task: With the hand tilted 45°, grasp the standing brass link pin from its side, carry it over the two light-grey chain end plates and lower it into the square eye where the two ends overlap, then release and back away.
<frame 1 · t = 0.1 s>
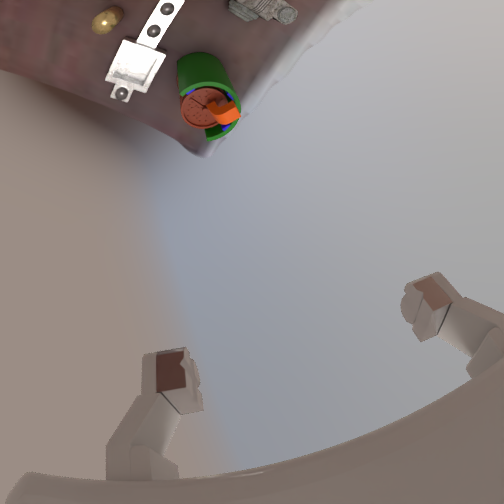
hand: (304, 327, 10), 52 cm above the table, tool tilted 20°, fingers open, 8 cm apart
link pin: (113, 15, 34), on the table
motor: (199, 74, 48), on the table
chain joint: (136, 62, 43), on the table
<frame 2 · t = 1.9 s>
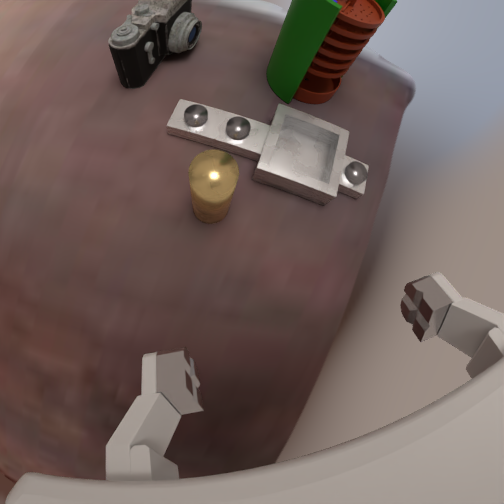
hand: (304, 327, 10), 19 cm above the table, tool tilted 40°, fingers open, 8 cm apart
camera: (167, 52, 31), on the table
link pin: (210, 206, 29), on the table
motor: (301, 78, 33), on the table
chain joint: (297, 159, 31), on the table
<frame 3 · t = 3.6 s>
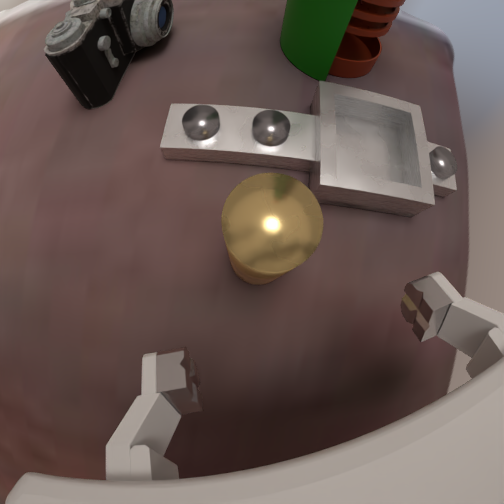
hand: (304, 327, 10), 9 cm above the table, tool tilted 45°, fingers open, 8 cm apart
camera: (136, 50, 22), on the table
link pin: (258, 256, 19), on the table
motor: (328, 47, 23), on the table
chain joint: (362, 158, 21), on the table
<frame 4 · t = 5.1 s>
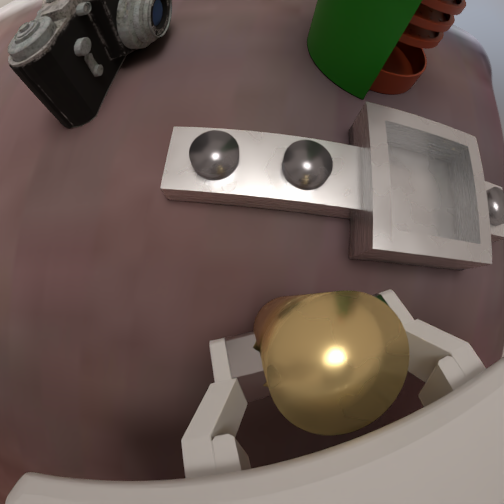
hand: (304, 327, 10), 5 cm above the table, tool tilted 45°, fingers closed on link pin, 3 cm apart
camera: (127, 53, 18), on the table
link pin: (287, 330, 15), on the table, touching gripper
motor: (363, 55, 19), on the table
chain joint: (409, 199, 16), on the table
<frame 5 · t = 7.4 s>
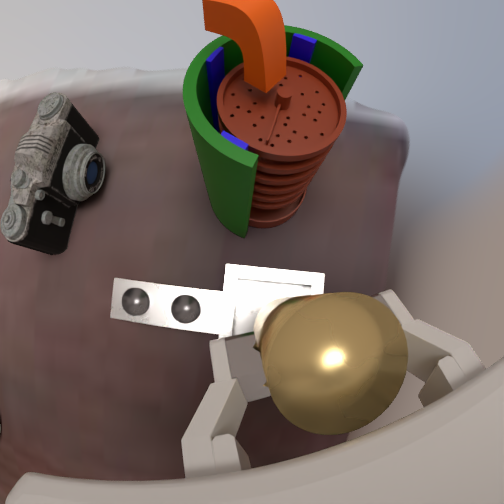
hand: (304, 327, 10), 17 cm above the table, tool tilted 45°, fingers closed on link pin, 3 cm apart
camera: (81, 190, 28), on the table
link pin: (287, 330, 15), point 12 cm above the table, touching gripper
motor: (256, 187, 29), on the table
chain joint: (268, 316, 27), on the table
when the fingers open (7 cm above the table, at t = 9.8 s): link pin drops 1 cm, resting on chain joint.
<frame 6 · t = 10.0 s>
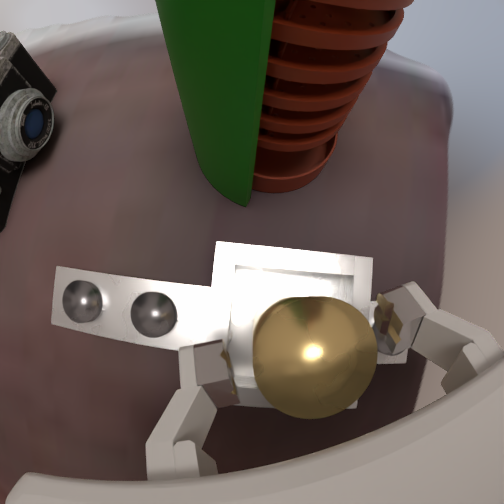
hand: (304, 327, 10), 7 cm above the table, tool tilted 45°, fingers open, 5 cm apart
camera: (29, 153, 19), on the table
link pin: (283, 328, 17), point 1 cm above the table, touching chain joint
motor: (263, 137, 19), on the table
chain joint: (282, 326, 17), on the table
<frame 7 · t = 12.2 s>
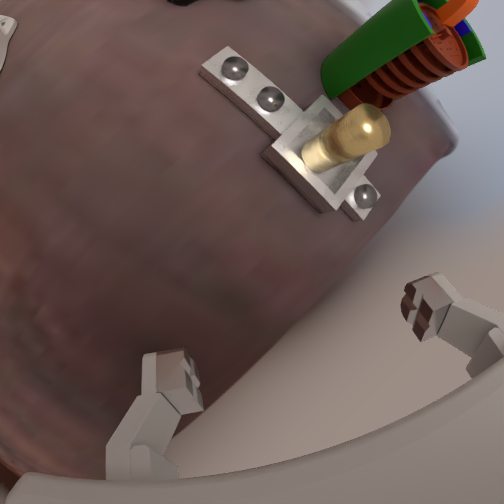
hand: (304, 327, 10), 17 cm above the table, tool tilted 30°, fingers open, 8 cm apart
link pin: (317, 155, 28), point 1 cm above the table, touching chain joint
motor: (355, 82, 30), on the table
chain joint: (314, 157, 29), on the table
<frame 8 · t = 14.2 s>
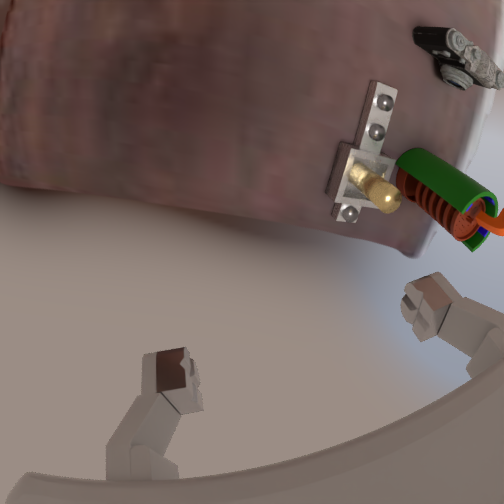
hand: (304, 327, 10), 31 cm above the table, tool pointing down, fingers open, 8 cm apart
camera: (440, 61, 33), on the table
link pin: (358, 174, 41), point 1 cm above the table, touching chain joint
motor: (414, 172, 44), on the table
chain joint: (355, 172, 42), on the table
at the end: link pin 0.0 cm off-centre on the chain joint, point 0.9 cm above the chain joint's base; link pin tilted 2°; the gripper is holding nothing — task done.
